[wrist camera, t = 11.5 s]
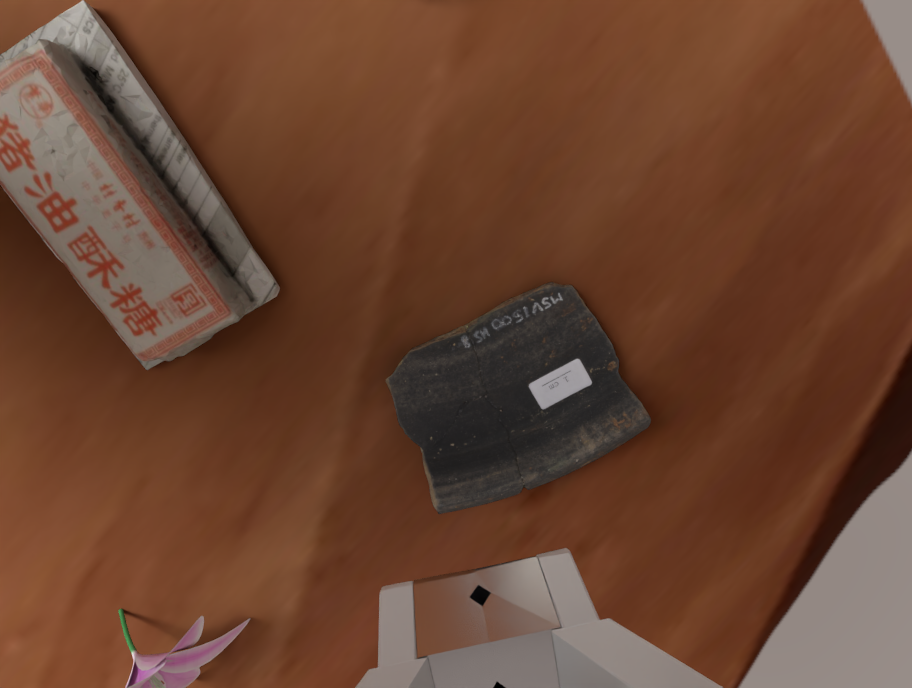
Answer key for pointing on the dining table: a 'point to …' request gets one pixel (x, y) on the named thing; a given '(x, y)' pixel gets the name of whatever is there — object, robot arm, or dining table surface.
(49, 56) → the packaged product
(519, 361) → the pottery fragment
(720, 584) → the dining table surface
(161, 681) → the lily
